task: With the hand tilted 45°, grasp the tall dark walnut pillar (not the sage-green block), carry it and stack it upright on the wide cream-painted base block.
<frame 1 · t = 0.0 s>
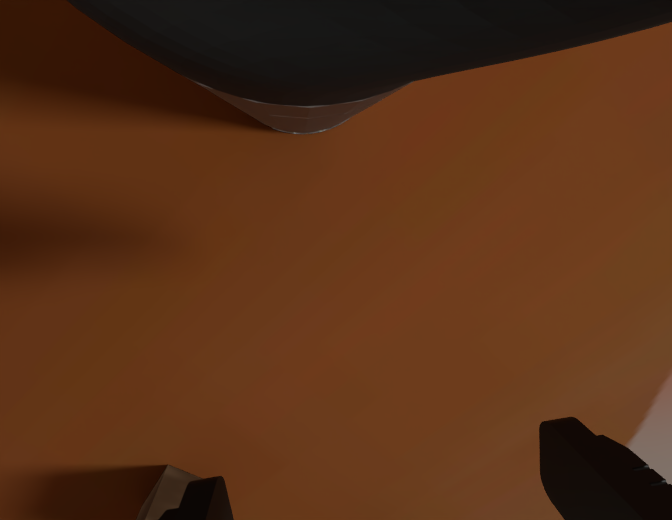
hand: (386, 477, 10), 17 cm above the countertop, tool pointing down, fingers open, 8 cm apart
walnut pillar: (181, 496, 30), on the countertop
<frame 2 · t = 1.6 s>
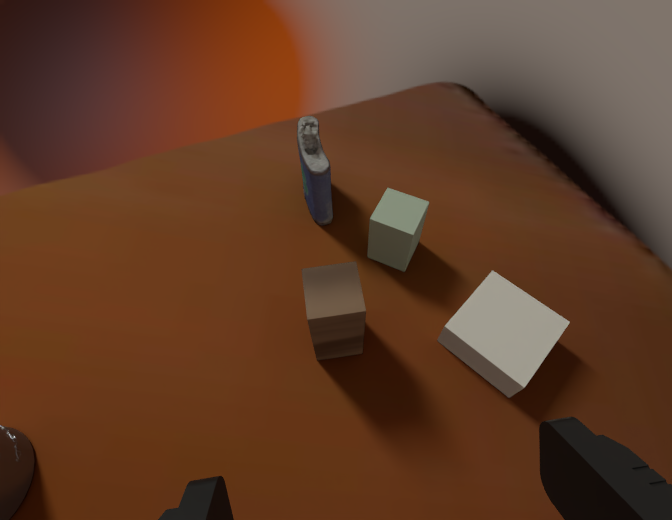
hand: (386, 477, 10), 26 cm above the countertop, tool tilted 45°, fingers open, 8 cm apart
base block: (493, 339, 39), on the countertop
walnut pillar: (336, 335, 39), on the countertop
sage block: (393, 249, 44), on the countertop
flask: (317, 198, 49), on the countertop
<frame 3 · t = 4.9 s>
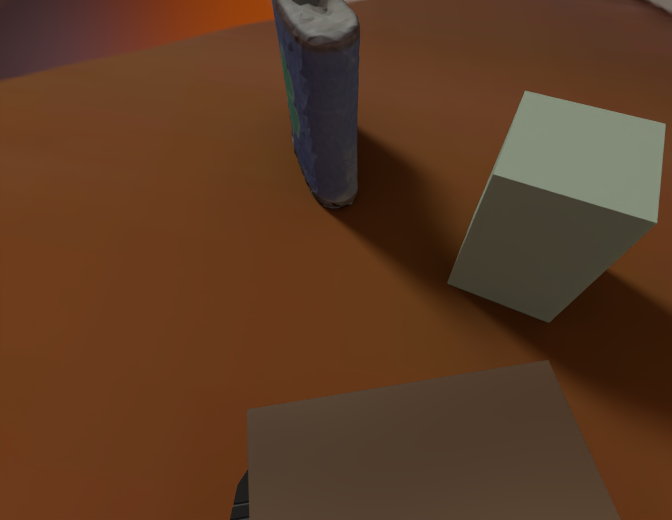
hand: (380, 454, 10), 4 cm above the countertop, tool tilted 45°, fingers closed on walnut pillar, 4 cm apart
sage block: (508, 263, 18), on the countertop
flask: (321, 153, 23), on the countertop
when the fingers open (9 cm above the countertop, at t = 9.0 s): walnut pillar drops 2 cm, resting on base block.
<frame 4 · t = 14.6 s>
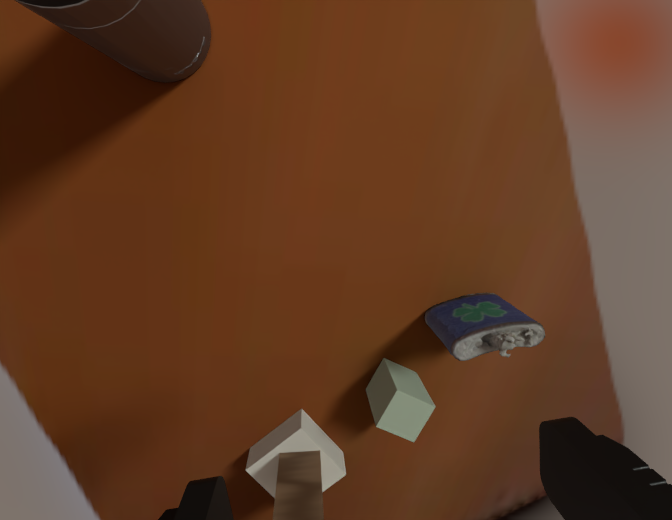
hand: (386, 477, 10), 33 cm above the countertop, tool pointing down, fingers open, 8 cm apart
base block: (297, 448, 47), on the countertop, touching walnut pillar
walnut pillar: (300, 469, 44), point 4 cm above the countertop, touching base block
sage block: (390, 380, 46), on the countertop
flask: (461, 307, 45), on the countertop
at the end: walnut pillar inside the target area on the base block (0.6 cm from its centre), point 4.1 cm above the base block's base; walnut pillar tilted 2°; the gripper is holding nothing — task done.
